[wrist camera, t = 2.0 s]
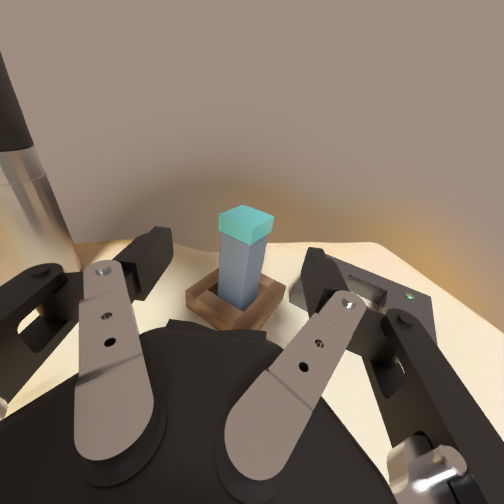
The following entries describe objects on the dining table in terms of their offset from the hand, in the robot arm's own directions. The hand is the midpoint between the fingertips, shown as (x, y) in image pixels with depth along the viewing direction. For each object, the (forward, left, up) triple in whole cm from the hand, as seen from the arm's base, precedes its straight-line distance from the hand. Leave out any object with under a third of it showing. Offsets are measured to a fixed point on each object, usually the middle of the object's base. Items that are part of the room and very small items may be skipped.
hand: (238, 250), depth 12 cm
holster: (-6, +10, -17) cm, 20 cm away
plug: (-6, +10, -17) cm, 20 cm away
